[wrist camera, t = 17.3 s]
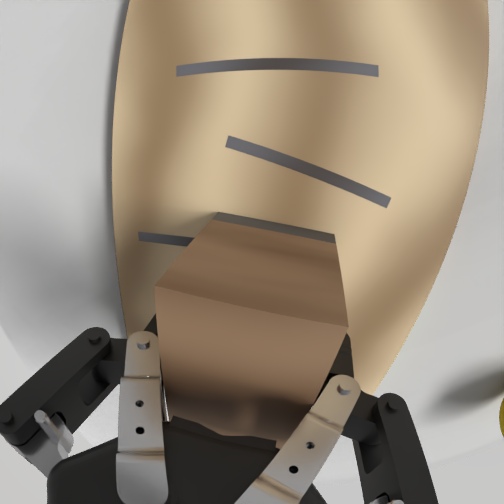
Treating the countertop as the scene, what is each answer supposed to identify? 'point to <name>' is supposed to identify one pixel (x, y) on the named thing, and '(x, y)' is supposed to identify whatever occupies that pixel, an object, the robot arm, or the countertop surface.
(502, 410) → the lemon
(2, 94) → the countertop surface
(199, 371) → the block
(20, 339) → the countertop surface
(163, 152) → the plywood board
